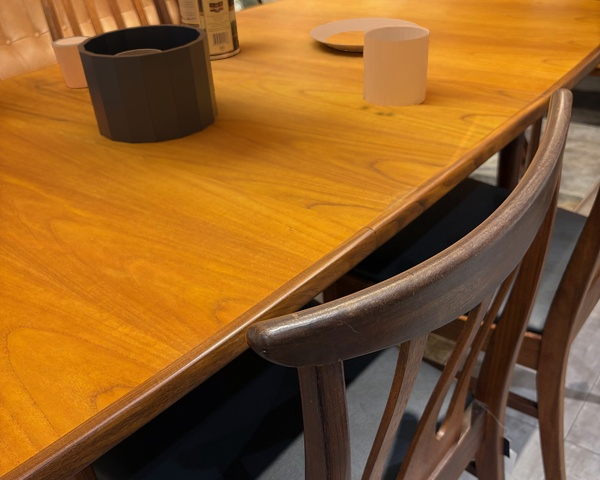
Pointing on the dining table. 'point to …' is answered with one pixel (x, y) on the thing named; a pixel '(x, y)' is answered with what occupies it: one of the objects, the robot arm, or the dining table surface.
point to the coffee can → (213, 24)
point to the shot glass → (70, 60)
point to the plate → (354, 24)
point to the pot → (150, 82)
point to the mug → (395, 65)
